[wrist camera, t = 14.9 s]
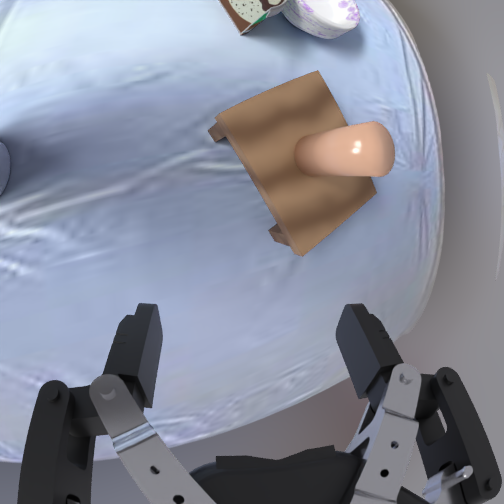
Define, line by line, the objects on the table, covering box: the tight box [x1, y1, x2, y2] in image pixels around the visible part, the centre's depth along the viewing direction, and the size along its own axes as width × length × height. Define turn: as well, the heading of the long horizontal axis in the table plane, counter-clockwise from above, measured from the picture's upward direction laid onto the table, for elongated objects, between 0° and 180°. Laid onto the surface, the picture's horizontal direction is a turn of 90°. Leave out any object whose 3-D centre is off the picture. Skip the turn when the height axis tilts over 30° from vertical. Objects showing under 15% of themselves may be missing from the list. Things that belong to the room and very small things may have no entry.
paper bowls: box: [282, 0, 360, 39], centre depth 32 cm, size 15×15×8 cm
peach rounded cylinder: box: [294, 121, 395, 177], centre depth 28 cm, size 5×5×11 cm
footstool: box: [208, 70, 377, 257], centre depth 36 cm, size 20×16×8 cm
